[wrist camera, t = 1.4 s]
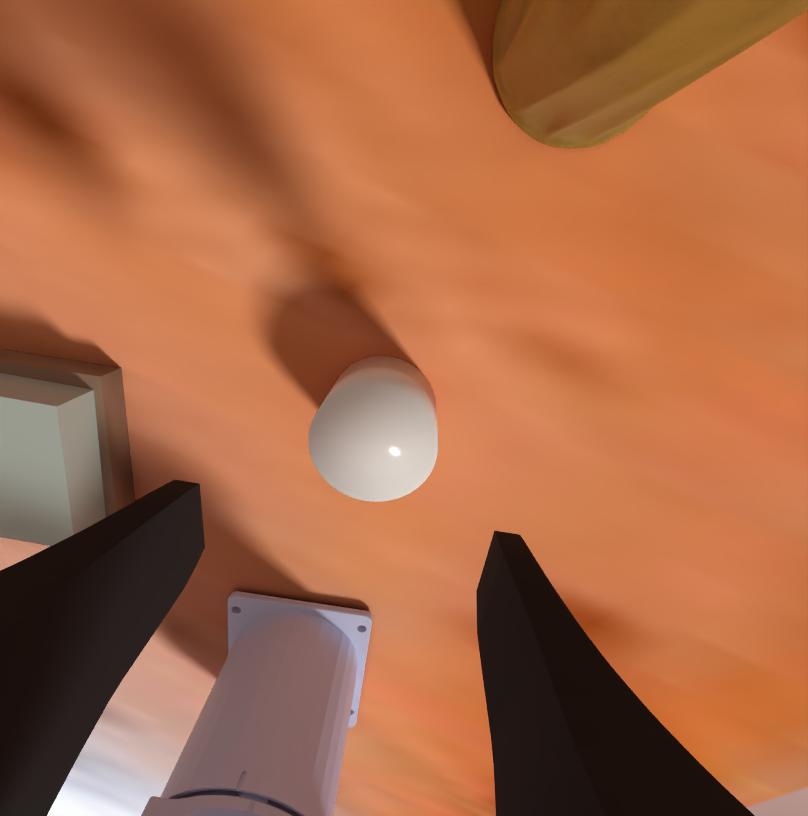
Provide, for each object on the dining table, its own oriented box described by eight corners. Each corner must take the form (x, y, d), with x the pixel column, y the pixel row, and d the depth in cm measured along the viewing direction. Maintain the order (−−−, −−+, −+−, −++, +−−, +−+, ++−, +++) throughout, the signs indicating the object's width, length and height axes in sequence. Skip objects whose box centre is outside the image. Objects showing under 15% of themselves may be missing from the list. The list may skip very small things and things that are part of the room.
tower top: (106, 522, 21) (75, 550, 19) (-37, 497, 21) (-82, 522, 19) (93, 389, 19) (56, 406, 17) (-70, 360, 19) (-125, 373, 17)
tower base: (143, 506, 23) (118, 530, 21) (-6, 483, 23) (-43, 505, 21) (130, 363, 20) (100, 376, 18) (-40, 337, 20) (-88, 347, 18)
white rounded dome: (426, 460, 21) (426, 509, 17) (326, 445, 21) (304, 491, 17) (444, 364, 19) (448, 395, 15) (335, 347, 19) (312, 375, 15)
